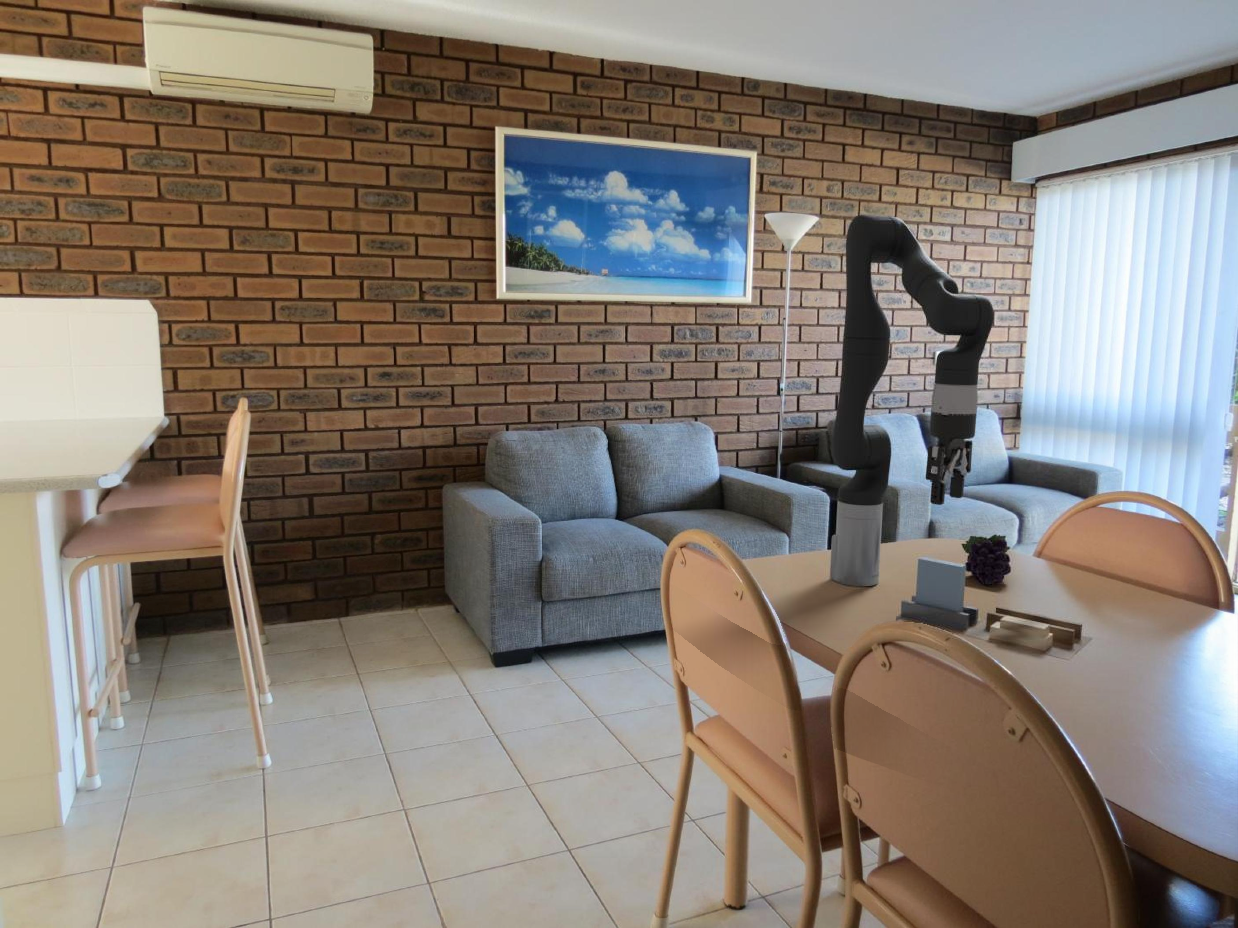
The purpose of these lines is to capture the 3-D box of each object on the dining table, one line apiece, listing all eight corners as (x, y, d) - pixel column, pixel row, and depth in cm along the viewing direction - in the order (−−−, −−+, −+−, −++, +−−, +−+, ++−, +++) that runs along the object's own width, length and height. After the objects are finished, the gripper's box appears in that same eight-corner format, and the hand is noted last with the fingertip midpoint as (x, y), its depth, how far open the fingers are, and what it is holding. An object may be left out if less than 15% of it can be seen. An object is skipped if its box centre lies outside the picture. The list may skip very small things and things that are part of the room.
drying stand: (896, 621, 160) (897, 602, 159) (916, 610, 166) (918, 592, 166) (961, 637, 152) (963, 617, 151) (980, 624, 158) (982, 606, 158)
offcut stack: (989, 637, 149) (990, 617, 148) (996, 632, 151) (998, 613, 151) (1045, 650, 143) (1047, 630, 142) (1052, 645, 145) (1053, 624, 145)
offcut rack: (961, 639, 150) (962, 620, 150) (990, 621, 160) (992, 602, 160) (1068, 665, 139) (1070, 644, 138) (1092, 643, 149) (1094, 623, 149)
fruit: (974, 600, 184) (957, 565, 197) (1027, 595, 182) (1006, 560, 195) (971, 558, 180) (955, 525, 193) (1026, 552, 178) (1005, 519, 192)
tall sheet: (914, 613, 161) (918, 558, 159) (919, 611, 162) (923, 556, 161) (957, 624, 155) (961, 566, 154) (962, 621, 157) (966, 564, 155)
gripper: (948, 406, 161) (942, 492, 163) (915, 410, 150) (909, 503, 153) (990, 409, 156) (982, 498, 158) (959, 414, 145) (951, 509, 148)
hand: (946, 500), depth 156 cm, fingers open, 8 cm apart
